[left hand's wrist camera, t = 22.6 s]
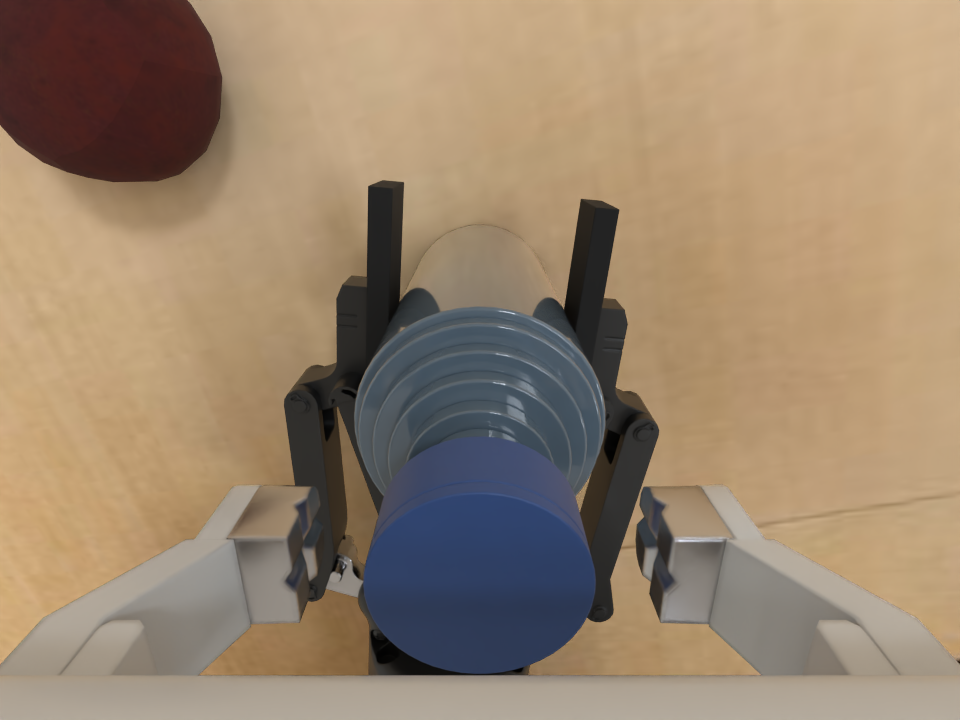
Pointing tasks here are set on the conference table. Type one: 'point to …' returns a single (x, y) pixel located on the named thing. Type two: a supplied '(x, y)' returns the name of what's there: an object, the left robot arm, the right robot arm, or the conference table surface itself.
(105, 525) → the conference table surface
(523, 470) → the cap
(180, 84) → the potato
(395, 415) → the bottle
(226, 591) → the left robot arm
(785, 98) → the conference table surface
